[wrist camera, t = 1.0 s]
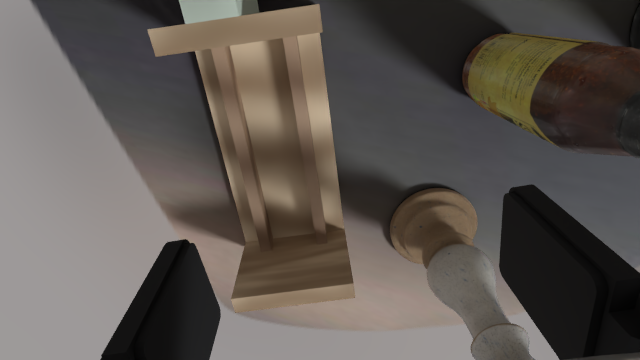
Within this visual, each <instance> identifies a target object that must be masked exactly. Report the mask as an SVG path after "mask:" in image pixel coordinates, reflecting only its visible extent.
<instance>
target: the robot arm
mask: <svg viewBox="0 0 640 360" xmlns="http://www.w3.org/2000/svg"><path fill="white" fill-rule="evenodd" d="M499 267H500V272H501V275H502V277H503V278H504V280H505V281H506V283H507V284H508V286H509V287H510V289H511V290H512V291H513V293H514V294H515V296H516V297H517V299H518V300H519V301H520V303H521V304H522V306H523V307H524V309H525V310H526V312H527V313H528V314H529V316H530V317H531V319H532V320H533V322H534V323H535V325H536V326H537V327H538V329H539V330H540V332H541V333H542V335H543V336H544V337H545V339H546V340H547V342H548V343H549V345H550V346H551V348H552V349H553V350H554V352H555V353H556V355H557V356H558V358H559V359H560V360H640V273H639V272H638V271H637V270H635V269H634V268H633V267H632V266H631V265H629V264H628V263H627V262H626V261H625V260H623V259H622V258H621V257H620V256H619V255H617V254H616V253H615V252H614V251H613V250H611V249H610V248H609V247H608V246H607V245H605V244H604V243H603V242H602V241H601V240H599V239H598V238H597V237H596V236H595V235H593V234H592V233H591V232H590V231H589V230H587V229H586V228H585V227H584V226H583V225H581V224H580V223H579V222H578V221H577V220H575V219H574V218H573V217H572V216H571V215H569V214H568V213H567V212H566V211H565V210H563V209H562V208H561V207H560V206H559V205H557V204H556V203H555V202H554V201H553V200H551V199H550V198H549V197H548V196H547V195H545V194H544V193H543V192H542V191H541V190H539V189H538V188H537V187H536V186H534V185H526V186H519V187H513V188H511V189H510V191H509V193H506V194H505V195H504V199H503V214H502V230H501V246H500V263H499ZM219 321H220V307H219V304H218V302H217V299H216V297H215V294H214V292H213V289H212V286H211V284H210V281H209V279H208V276H207V274H206V271H205V268H204V266H203V263H202V261H201V258H200V255H199V253H198V250H197V248H196V246H195V244H194V243H189V241H188V240H186V239H185V240H178V241H172V242H168V243H166V244H165V245H164V247H163V249H162V251H161V252H160V254H159V256H158V258H157V259H156V261H155V263H154V265H153V266H152V268H151V270H150V272H149V273H148V275H147V277H146V278H145V280H144V282H143V284H142V285H141V287H140V289H139V291H138V292H137V294H136V296H135V298H134V299H133V301H132V303H131V305H130V307H129V308H128V310H127V312H126V314H125V315H124V317H123V319H122V320H121V322H120V324H119V326H118V327H117V329H116V331H115V333H114V334H113V336H112V338H111V340H110V341H109V343H108V345H107V347H106V348H105V350H104V352H103V354H102V355H101V356H102V358H101V360H209V358H210V355H211V351H212V347H213V344H214V340H215V336H216V332H217V329H218V325H219Z"/></svg>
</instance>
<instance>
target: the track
mask: <svg viewBox="0 0 640 360" xmlns="http://www.w3.org/2000/svg"><path fill="white" fill-rule="evenodd" d="M320 32H323V31H322V23H321V15H320V7H319V4H314V5H308V6H301V7H294V8H287V9H281V10H274V11H267V12H261V13H254V14H249V15H243V16H237V17H230V18H224V19H217V20H210V21H204V22H197V23H190V24H181V25H174V26H168V27H162V28H155V29H149V30H148V33H149V36H150V39H151V43H152V46H153V49H154V52H155V56H156V57H157V56H164V55H171V54H178V53H184V52H191V51H195V53H196V57H197V61H198V65H199V68H200V72H201V76H202V80H203V83H204V87H205V91H206V95H207V98H208V102H209V106H210V110H211V113H212V117H213V121H214V125H215V129H216V132H217V136H218V140H219V144H220V147H221V151H222V155H223V159H224V162H225V166H226V170H227V174H228V177H229V181H230V185H231V189H232V193H233V196H234V200H235V204H236V208H237V211H238V215H239V219H240V223H241V226H242V230H243V234H244V238H245V241H246V243H245V247H244V251H243V255H242V259H241V263H240V266H239V270H238V274H237V278H236V282H235V286H234V290H233V294H232V298H231V300H232V304H233V307H234V310H235V313H238V312H246V311H254V310H262V309H270V308H278V307H286V306H293V305H301V304H309V303H317V302H325V301H333V300H341V299H349V298H355V292H354V284H353V278H352V272H351V266H350V260H349V254H348V248H347V242H346V236H345V230H344V223H343V215H342V207H341V199H340V191H339V183H338V175H337V167H336V159H335V151H334V143H333V135H332V127H331V120H330V112H329V104H328V96H327V88H326V80H325V72H324V64H323V56H322V48H321V40H320Z"/></svg>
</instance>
